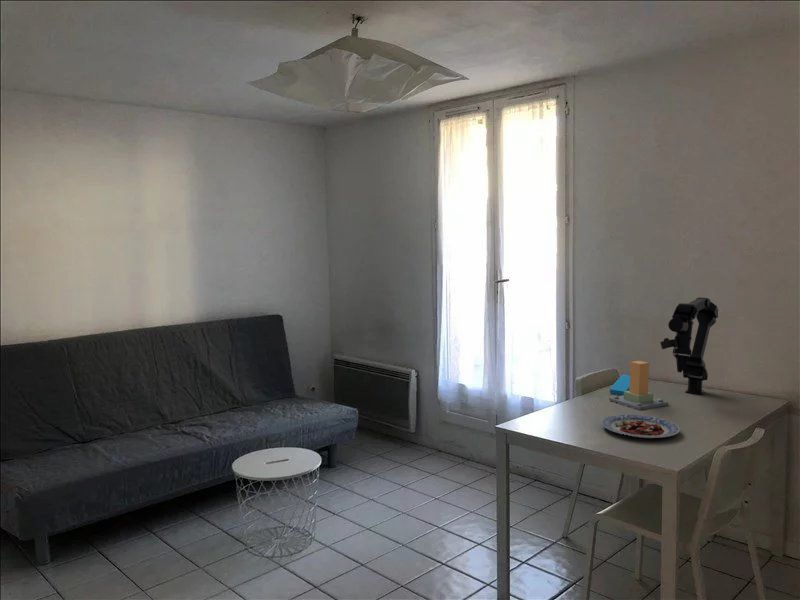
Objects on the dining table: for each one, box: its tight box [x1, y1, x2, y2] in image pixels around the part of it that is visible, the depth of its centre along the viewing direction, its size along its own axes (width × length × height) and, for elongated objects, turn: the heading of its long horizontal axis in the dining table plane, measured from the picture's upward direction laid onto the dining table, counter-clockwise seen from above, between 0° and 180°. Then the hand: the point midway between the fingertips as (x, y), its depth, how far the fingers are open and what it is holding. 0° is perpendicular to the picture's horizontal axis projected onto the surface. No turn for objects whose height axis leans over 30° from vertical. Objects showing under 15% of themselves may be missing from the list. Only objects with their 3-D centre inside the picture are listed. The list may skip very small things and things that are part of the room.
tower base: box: [608, 391, 669, 411], centre depth 262 cm, size 16×16×4 cm
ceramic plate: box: [601, 414, 681, 439], centre depth 227 cm, size 26×26×3 cm
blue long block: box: [609, 374, 630, 396], centre depth 281 cm, size 7×7×18 cm
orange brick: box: [629, 360, 650, 395], centre depth 261 cm, size 5×5×12 cm
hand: (679, 372), depth 262 cm, fingers open, 9 cm apart
